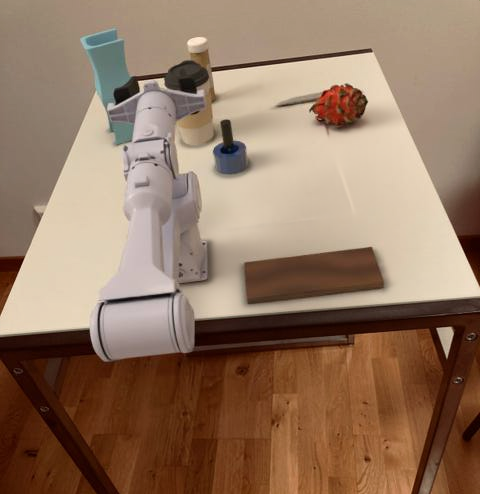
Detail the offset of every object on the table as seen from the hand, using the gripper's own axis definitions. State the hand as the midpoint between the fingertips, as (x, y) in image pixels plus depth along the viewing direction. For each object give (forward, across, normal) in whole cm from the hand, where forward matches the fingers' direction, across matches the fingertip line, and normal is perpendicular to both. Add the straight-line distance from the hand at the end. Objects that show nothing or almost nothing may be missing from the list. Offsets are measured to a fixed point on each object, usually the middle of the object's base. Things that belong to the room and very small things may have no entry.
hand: (159, 78), depth 80 cm
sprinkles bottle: (+37, -4, +25) cm, 45 cm away
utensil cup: (+6, -9, +22) cm, 25 cm away
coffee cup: (+19, -2, +23) cm, 30 cm away
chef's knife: (+30, -29, +24) cm, 48 cm away
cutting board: (-28, -20, +20) cm, 40 cm away
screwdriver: (+6, -9, +22) cm, 24 cm away
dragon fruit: (+17, -32, +23) cm, 43 cm away
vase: (+26, +14, +24) cm, 38 cm away
